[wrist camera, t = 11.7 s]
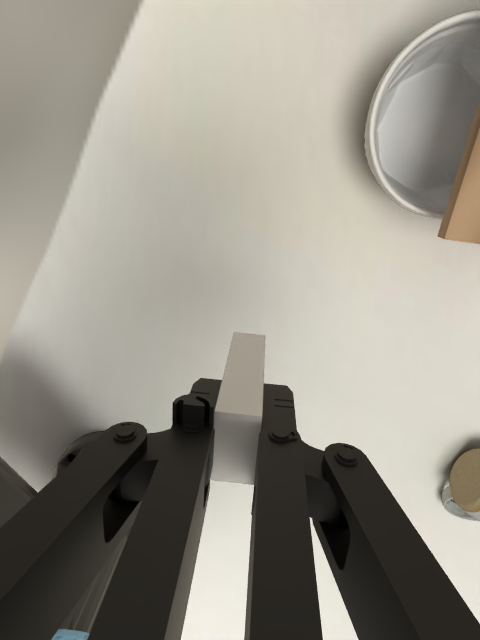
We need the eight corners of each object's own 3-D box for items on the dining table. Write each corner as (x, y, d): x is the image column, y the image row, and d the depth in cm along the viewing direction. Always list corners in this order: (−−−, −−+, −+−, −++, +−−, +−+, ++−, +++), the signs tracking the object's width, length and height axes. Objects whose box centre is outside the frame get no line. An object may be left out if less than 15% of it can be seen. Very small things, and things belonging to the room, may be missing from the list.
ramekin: (320, 135, 34) (330, 127, 28) (448, -2, 30) (494, -50, 23) (415, 240, 36) (444, 255, 30) (546, 127, 32) (613, 116, 26)
